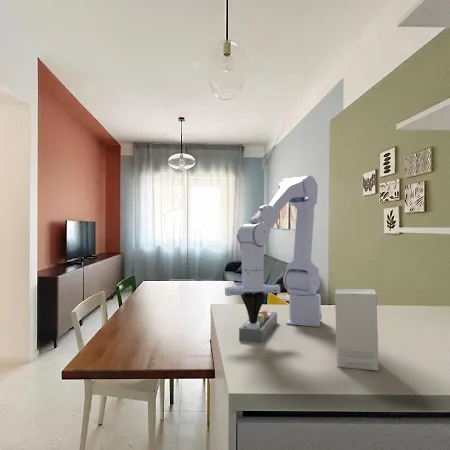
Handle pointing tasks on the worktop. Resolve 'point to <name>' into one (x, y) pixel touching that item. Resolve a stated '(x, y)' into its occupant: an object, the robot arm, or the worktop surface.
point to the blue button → (252, 325)
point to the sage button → (260, 319)
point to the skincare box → (356, 328)
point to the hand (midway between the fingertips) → (252, 322)
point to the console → (258, 334)
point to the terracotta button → (264, 314)
